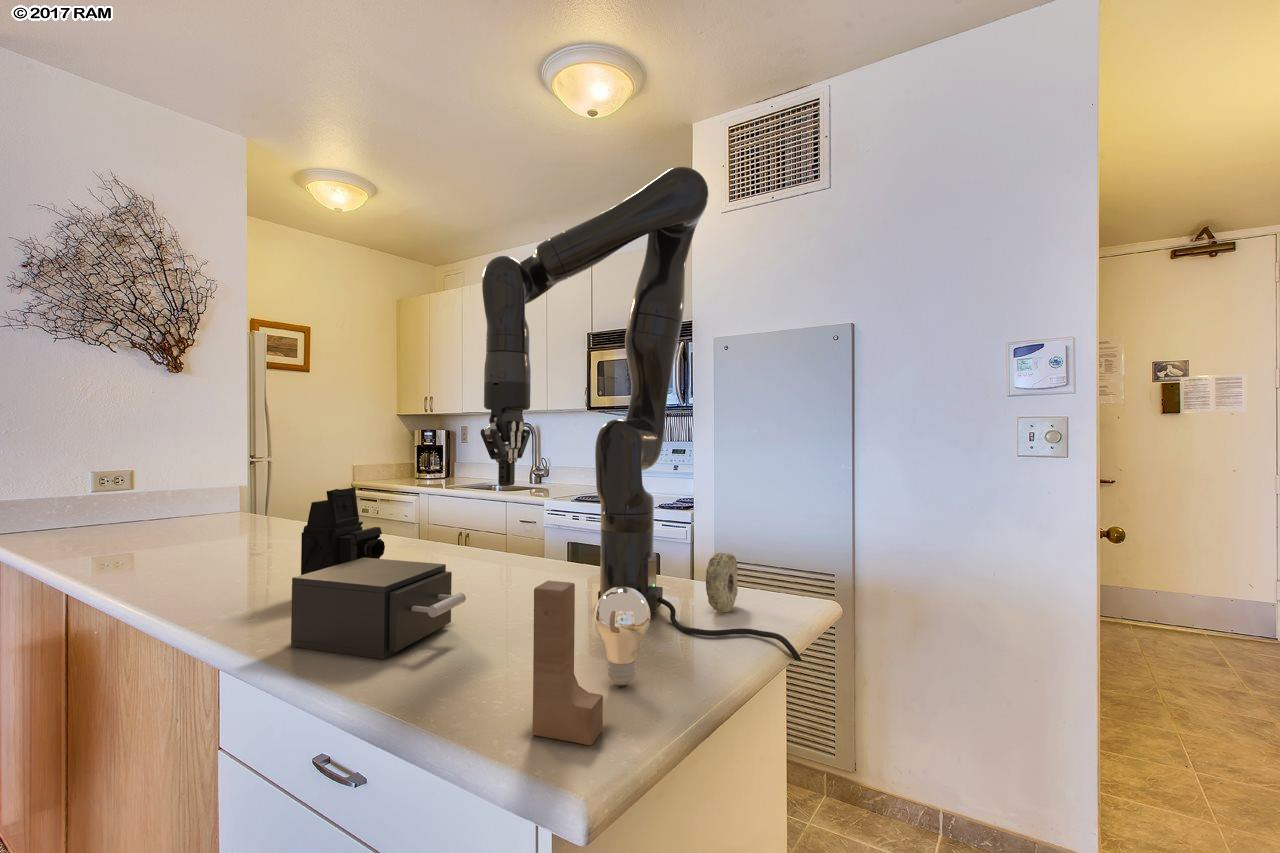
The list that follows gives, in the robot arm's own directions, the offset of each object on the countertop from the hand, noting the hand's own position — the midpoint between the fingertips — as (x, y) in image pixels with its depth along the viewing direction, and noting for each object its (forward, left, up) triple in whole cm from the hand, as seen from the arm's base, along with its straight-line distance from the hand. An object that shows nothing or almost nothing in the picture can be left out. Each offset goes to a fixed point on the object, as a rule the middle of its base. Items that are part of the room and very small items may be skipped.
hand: (506, 485), depth 94 cm
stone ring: (-34, -15, -22) cm, 43 cm away
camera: (+34, -2, -22) cm, 41 cm away
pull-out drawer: (+11, +13, -21) cm, 27 cm away
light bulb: (-26, +18, -22) cm, 39 cm away
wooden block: (-24, +30, -22) cm, 44 cm away
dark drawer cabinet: (+15, +13, -22) cm, 30 cm away
